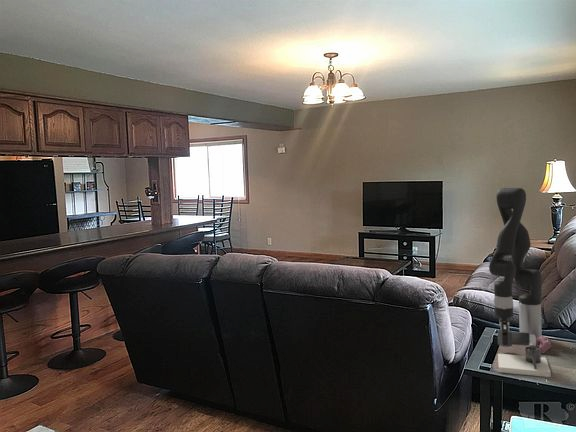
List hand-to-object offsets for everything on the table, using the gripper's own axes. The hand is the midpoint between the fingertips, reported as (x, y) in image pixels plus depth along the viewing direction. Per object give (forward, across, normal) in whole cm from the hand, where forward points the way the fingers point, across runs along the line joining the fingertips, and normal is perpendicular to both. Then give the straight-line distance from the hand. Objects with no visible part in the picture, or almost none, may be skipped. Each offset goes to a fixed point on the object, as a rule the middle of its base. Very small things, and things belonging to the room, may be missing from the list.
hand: (504, 342), depth 203 cm
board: (+4, +15, +6) cm, 17 cm away
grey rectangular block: (+1, 0, +3) cm, 3 cm away
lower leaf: (+2, +15, +10) cm, 18 cm away
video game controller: (+5, -7, +15) cm, 17 cm away
